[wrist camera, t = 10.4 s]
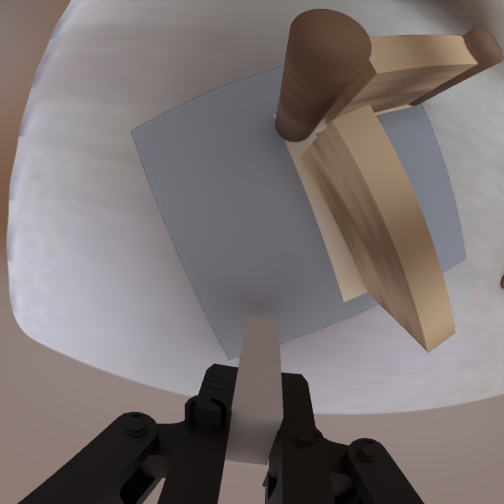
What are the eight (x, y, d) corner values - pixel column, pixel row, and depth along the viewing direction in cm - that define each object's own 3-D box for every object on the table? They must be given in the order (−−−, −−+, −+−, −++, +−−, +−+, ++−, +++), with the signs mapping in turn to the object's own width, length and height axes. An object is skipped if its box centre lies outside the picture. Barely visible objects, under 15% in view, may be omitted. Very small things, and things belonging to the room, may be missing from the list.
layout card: (387, 48, 15) (390, 44, 14) (461, 257, 18) (466, 259, 17) (134, 132, 17) (130, 130, 16) (229, 355, 20) (228, 359, 19)
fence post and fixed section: (408, 80, 15) (497, 18, 5) (422, 108, 16) (522, 61, 5) (269, 116, 16) (275, 16, 6) (283, 149, 17) (313, 79, 6)
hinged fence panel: (300, 155, 16) (332, 120, 8) (322, 144, 16) (369, 104, 8) (368, 294, 17) (427, 352, 10) (388, 282, 17) (455, 332, 9)
